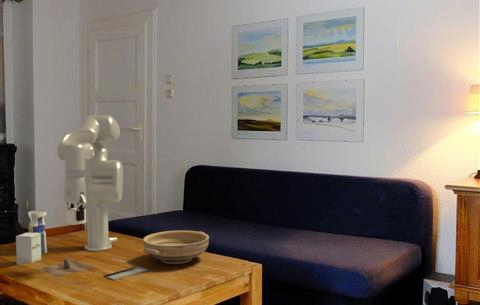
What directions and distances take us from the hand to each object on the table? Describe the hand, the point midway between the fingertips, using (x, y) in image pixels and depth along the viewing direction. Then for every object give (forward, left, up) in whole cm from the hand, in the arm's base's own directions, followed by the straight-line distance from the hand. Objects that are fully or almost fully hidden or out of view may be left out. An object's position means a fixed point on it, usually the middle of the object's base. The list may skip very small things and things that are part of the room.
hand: (76, 219), depth 204 cm
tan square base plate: (+3, -3, -21) cm, 22 cm away
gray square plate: (-11, +13, -21) cm, 27 cm away
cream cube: (0, 0, -1) cm, 2 cm away
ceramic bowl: (-37, +18, -22) cm, 46 cm away
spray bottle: (-4, -41, -22) cm, 47 cm away
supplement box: (+7, -27, -22) cm, 36 cm away
